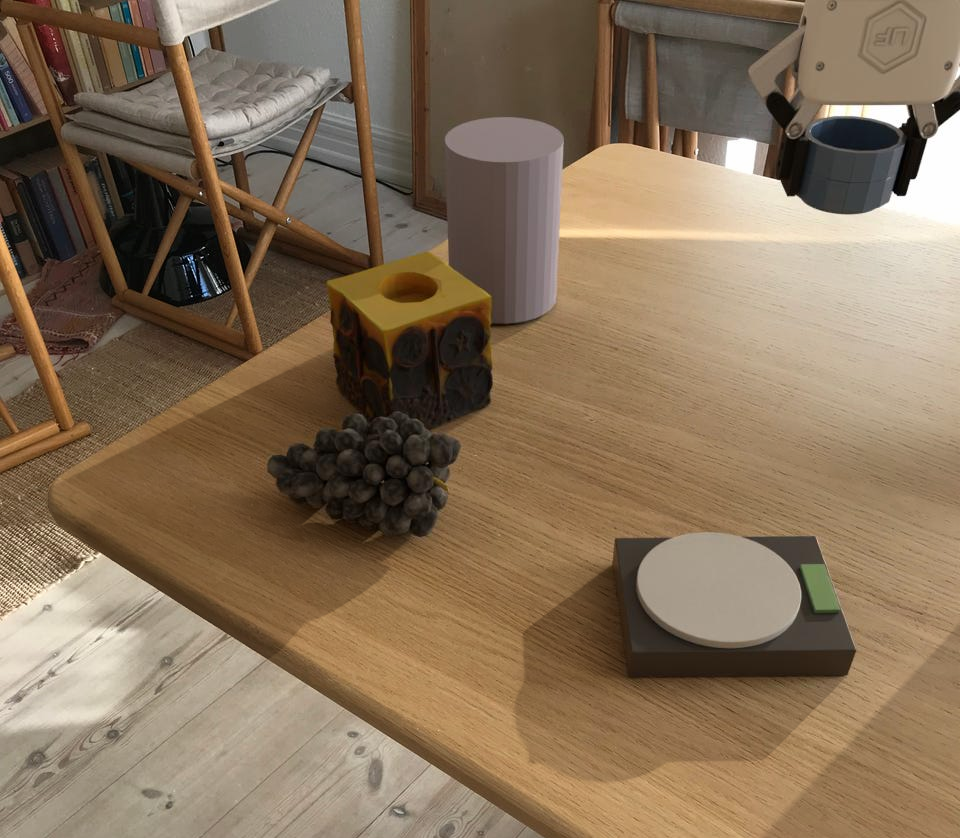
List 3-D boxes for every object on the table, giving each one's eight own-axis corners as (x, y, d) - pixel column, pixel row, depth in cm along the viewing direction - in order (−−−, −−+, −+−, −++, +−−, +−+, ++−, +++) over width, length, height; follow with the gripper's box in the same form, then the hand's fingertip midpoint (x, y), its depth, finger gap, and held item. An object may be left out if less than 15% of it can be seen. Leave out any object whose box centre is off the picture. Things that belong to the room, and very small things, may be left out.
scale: (809, 561, 74) (818, 528, 72) (847, 676, 66) (859, 643, 64) (612, 563, 74) (615, 530, 72) (628, 678, 66) (632, 645, 64)
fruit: (237, 405, 72) (440, 440, 68) (293, 380, 79) (480, 410, 75) (241, 522, 76) (434, 561, 72) (294, 489, 83) (472, 522, 79)
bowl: (875, 178, 79) (892, 115, 75) (900, 218, 74) (918, 153, 71) (782, 178, 79) (795, 115, 76) (800, 218, 74) (814, 153, 71)
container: (501, 265, 106) (501, 108, 95) (578, 299, 101) (588, 137, 90) (427, 301, 101) (420, 139, 90) (505, 338, 96) (506, 172, 85)
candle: (391, 446, 84) (382, 334, 77) (333, 389, 90) (319, 280, 83) (495, 406, 88) (496, 296, 81) (433, 355, 94) (428, 247, 87)
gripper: (778, -91, 61) (729, 211, 73) (1079, -94, 60) (978, 210, 73) (757, -118, 66) (715, 168, 79) (1034, -120, 66) (946, 168, 78)
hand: (842, 187), depth 76 cm, fingers closed on bowl, 7 cm apart
